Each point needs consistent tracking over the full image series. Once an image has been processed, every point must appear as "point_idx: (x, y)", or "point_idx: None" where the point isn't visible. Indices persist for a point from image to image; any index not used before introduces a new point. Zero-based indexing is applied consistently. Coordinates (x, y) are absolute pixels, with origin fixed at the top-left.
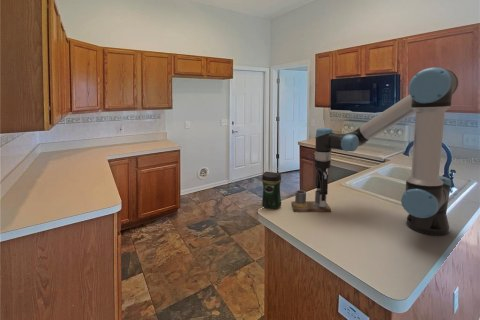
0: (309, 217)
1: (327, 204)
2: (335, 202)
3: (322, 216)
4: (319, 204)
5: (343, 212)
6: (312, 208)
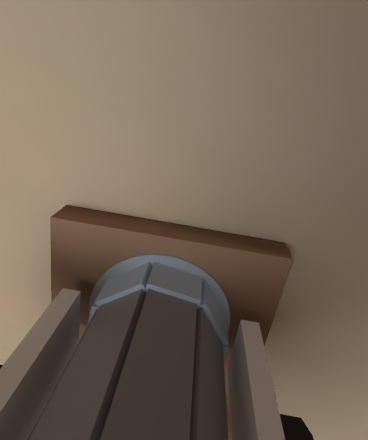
0: (332, 435)
1: (153, 239)
2: (13, 52)
3: (353, 351)
4: (230, 384)
5: (345, 106)
6: (228, 405)
